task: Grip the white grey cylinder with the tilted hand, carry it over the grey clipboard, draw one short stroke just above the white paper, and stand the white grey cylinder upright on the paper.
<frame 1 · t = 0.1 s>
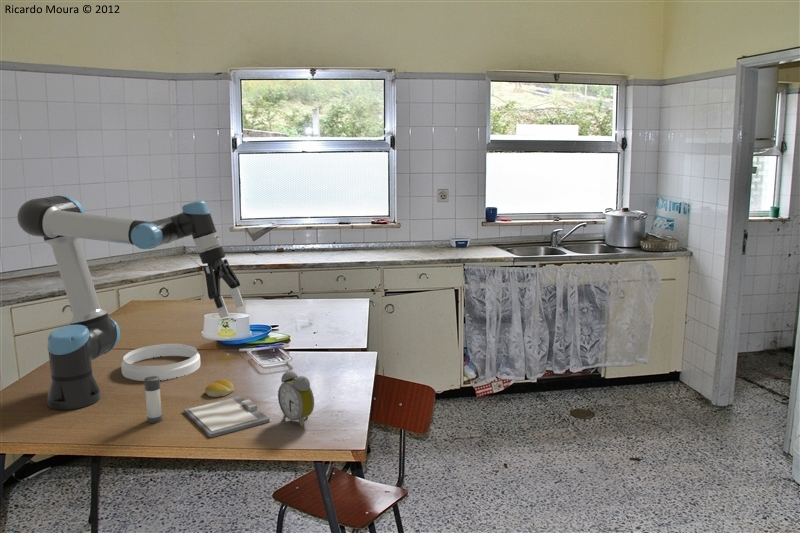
hand: (232, 311, 210), 28 cm above the table, tool tilted 20°, fingers open, 13 cm apart
alarm clock: (298, 422, 194), on the table
clipboard: (225, 416, 197), on the table
white grey cylinder: (154, 420, 194), on the table
bread roll: (219, 393, 216), on the table
white hollow ring: (161, 369, 239), on the table
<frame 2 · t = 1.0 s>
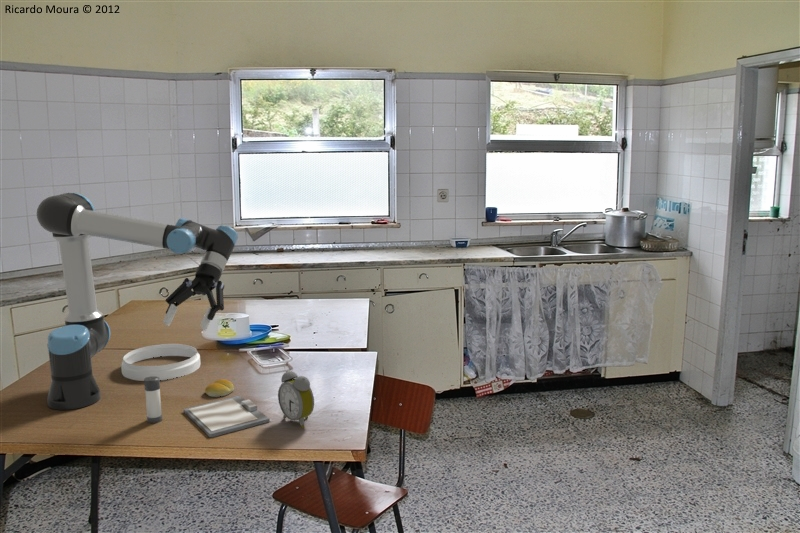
hand: (184, 326, 200), 26 cm above the table, tool tilted 45°, fingers open, 13 cm apart
nothing on the table moved.
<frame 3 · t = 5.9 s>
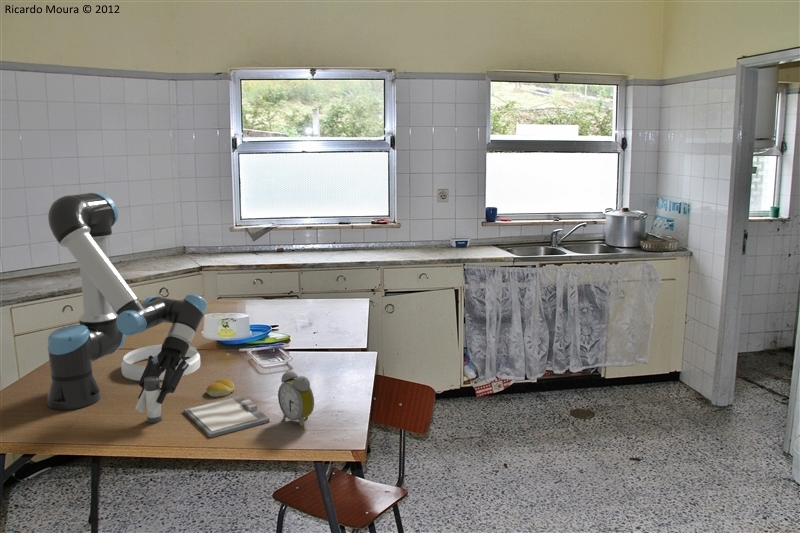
hand: (144, 411, 190), 4 cm above the table, tool tilted 45°, fingers closed on white grey cylinder, 4 cm apart
white grey cylinder: (154, 420, 194), on the table, touching gripper
everything else where it was.
when the fingers open (6 cm above the table, at t = 11.9 s): white grey cylinder stays where it is, resting on clipboard.
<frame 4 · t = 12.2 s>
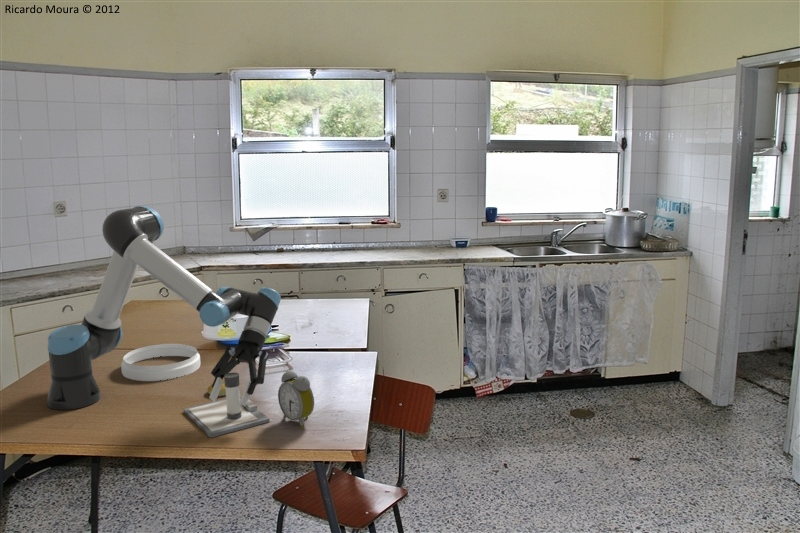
hand: (227, 401, 190), 7 cm above the table, tool tilted 45°, fingers open, 9 cm apart
white grey cylinder: (234, 416, 194), point 1 cm above the table, touching clipboard
everything else where it was.
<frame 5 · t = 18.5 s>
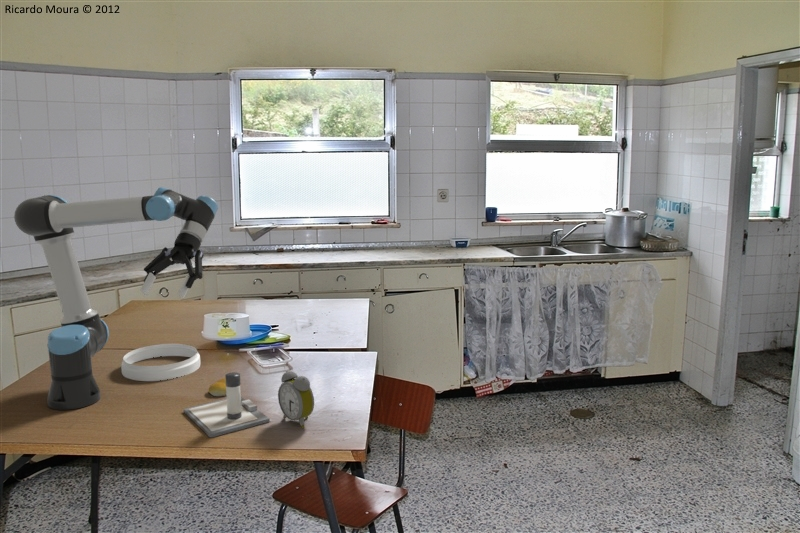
hand: (161, 294, 199), 36 cm above the table, tool tilted 45°, fingers open, 13 cm apart
at the end: white grey cylinder inside the target area on the clipboard (4.6 cm from its centre), point 1.2 cm above the clipboard's base; white grey cylinder tilted 0°; the gripper is holding nothing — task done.
